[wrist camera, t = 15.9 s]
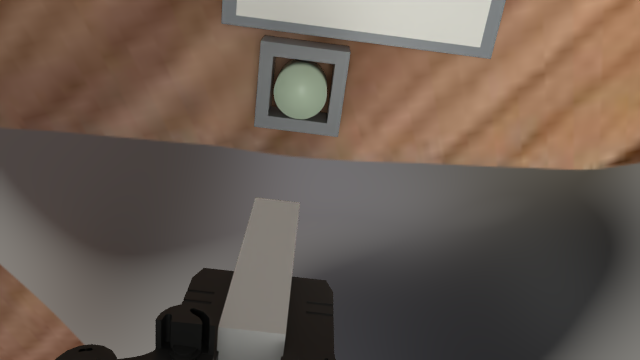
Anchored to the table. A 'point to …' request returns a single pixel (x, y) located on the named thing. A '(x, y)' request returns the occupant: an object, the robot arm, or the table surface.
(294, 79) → the button
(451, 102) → the table surface
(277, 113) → the button housing
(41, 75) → the table surface
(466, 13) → the picture board
